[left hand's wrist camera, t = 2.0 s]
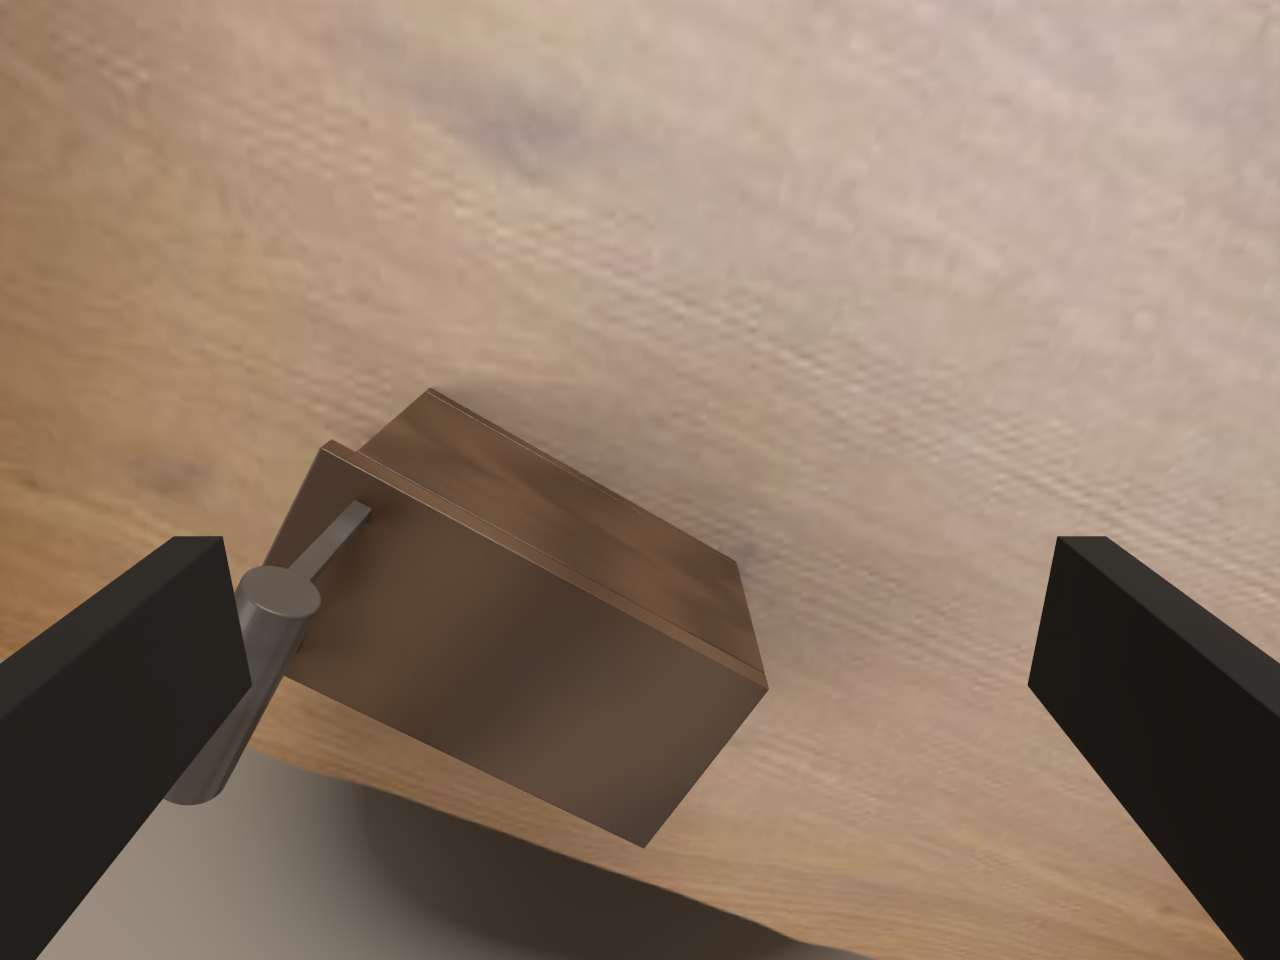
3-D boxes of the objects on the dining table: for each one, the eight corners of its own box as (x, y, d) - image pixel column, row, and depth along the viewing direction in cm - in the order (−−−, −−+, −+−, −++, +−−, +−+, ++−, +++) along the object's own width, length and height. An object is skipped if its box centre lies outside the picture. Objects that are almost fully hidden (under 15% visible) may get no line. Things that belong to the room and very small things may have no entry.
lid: (235, 631, 30) (82, 793, 22) (331, 438, 27) (198, 540, 19) (644, 830, 33) (644, 1036, 25) (765, 673, 31) (810, 846, 22)
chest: (350, 537, 40) (258, 642, 30) (429, 386, 37) (356, 451, 28) (644, 689, 43) (644, 829, 33) (736, 561, 40) (765, 673, 31)
